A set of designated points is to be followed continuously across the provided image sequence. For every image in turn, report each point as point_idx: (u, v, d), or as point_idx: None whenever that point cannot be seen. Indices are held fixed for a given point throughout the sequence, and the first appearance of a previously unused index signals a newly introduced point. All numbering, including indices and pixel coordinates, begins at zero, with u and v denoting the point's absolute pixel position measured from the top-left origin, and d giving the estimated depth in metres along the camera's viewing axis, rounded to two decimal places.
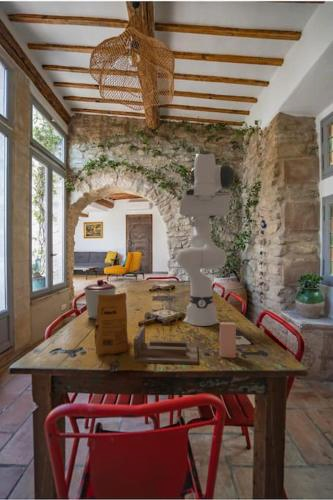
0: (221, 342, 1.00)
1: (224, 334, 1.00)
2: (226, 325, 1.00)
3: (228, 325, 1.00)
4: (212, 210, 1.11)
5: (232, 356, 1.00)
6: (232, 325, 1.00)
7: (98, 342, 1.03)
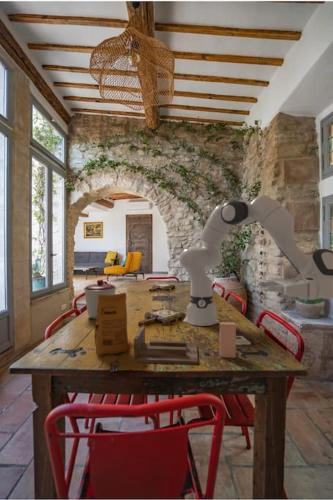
0: (221, 342, 1.00)
1: (224, 334, 1.00)
2: (226, 325, 1.00)
3: (228, 325, 1.00)
4: None
5: (232, 356, 1.00)
6: (232, 325, 1.00)
7: (98, 342, 1.03)
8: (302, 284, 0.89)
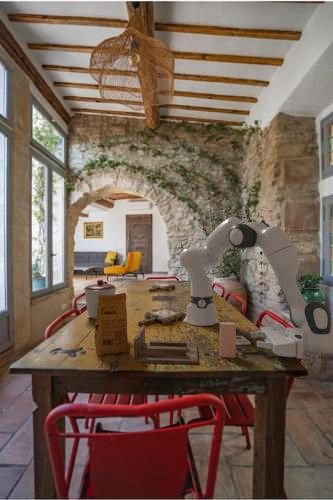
0: (221, 342, 1.00)
1: (224, 334, 1.00)
2: (226, 325, 1.00)
3: (228, 325, 1.00)
4: None
5: (232, 356, 1.00)
6: (232, 325, 1.00)
7: (98, 341, 1.03)
8: (290, 344, 0.90)
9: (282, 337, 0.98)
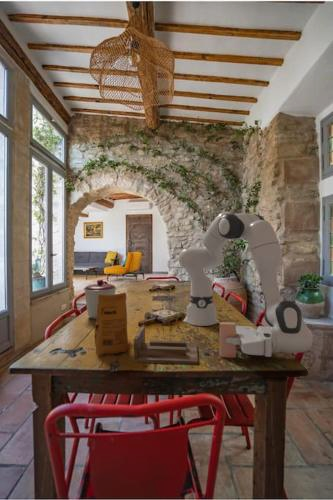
0: (221, 342, 1.00)
1: (224, 334, 1.00)
2: (226, 325, 1.00)
3: (228, 325, 1.00)
4: None
5: (232, 356, 1.00)
6: (232, 325, 1.00)
7: (98, 342, 1.03)
8: (258, 342, 0.91)
9: (252, 336, 0.99)
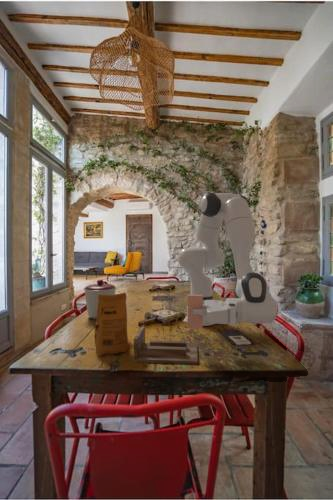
0: (188, 313, 1.01)
1: (191, 305, 1.01)
2: (193, 297, 1.01)
3: (195, 296, 1.01)
4: None
5: (199, 327, 1.01)
6: (199, 296, 1.01)
7: (98, 341, 1.03)
8: (222, 311, 0.92)
9: (219, 307, 1.00)
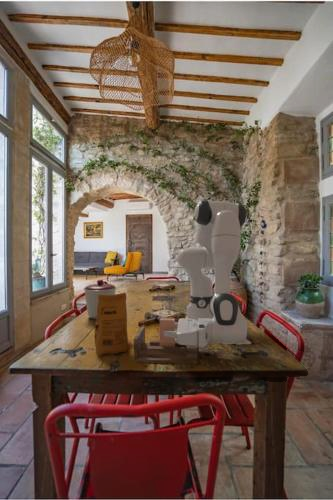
0: (160, 337, 1.02)
1: (163, 329, 1.02)
2: (165, 321, 1.02)
3: (167, 321, 1.02)
4: None
5: None
6: (171, 321, 1.02)
7: (98, 341, 1.03)
8: (191, 333, 0.93)
9: (190, 327, 1.01)
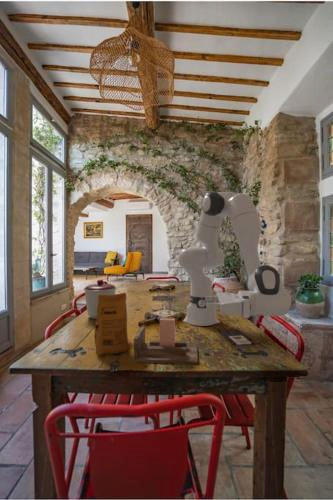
0: (160, 337, 1.02)
1: (163, 329, 1.02)
2: (165, 321, 1.02)
3: (167, 321, 1.02)
4: None
5: None
6: (171, 321, 1.02)
7: (98, 342, 1.03)
8: (236, 303, 0.92)
9: (232, 299, 0.99)
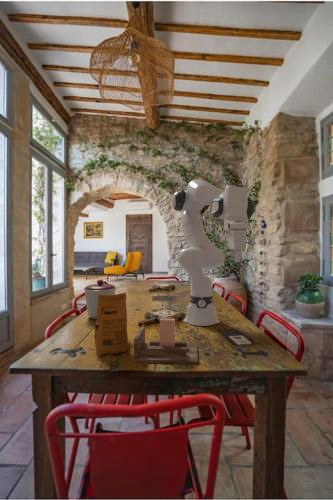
0: (160, 337, 1.02)
1: (163, 329, 1.02)
2: (165, 321, 1.02)
3: (167, 321, 1.02)
4: None
5: None
6: (171, 321, 1.02)
7: (98, 341, 1.03)
8: (234, 235, 0.99)
9: (232, 236, 1.06)
